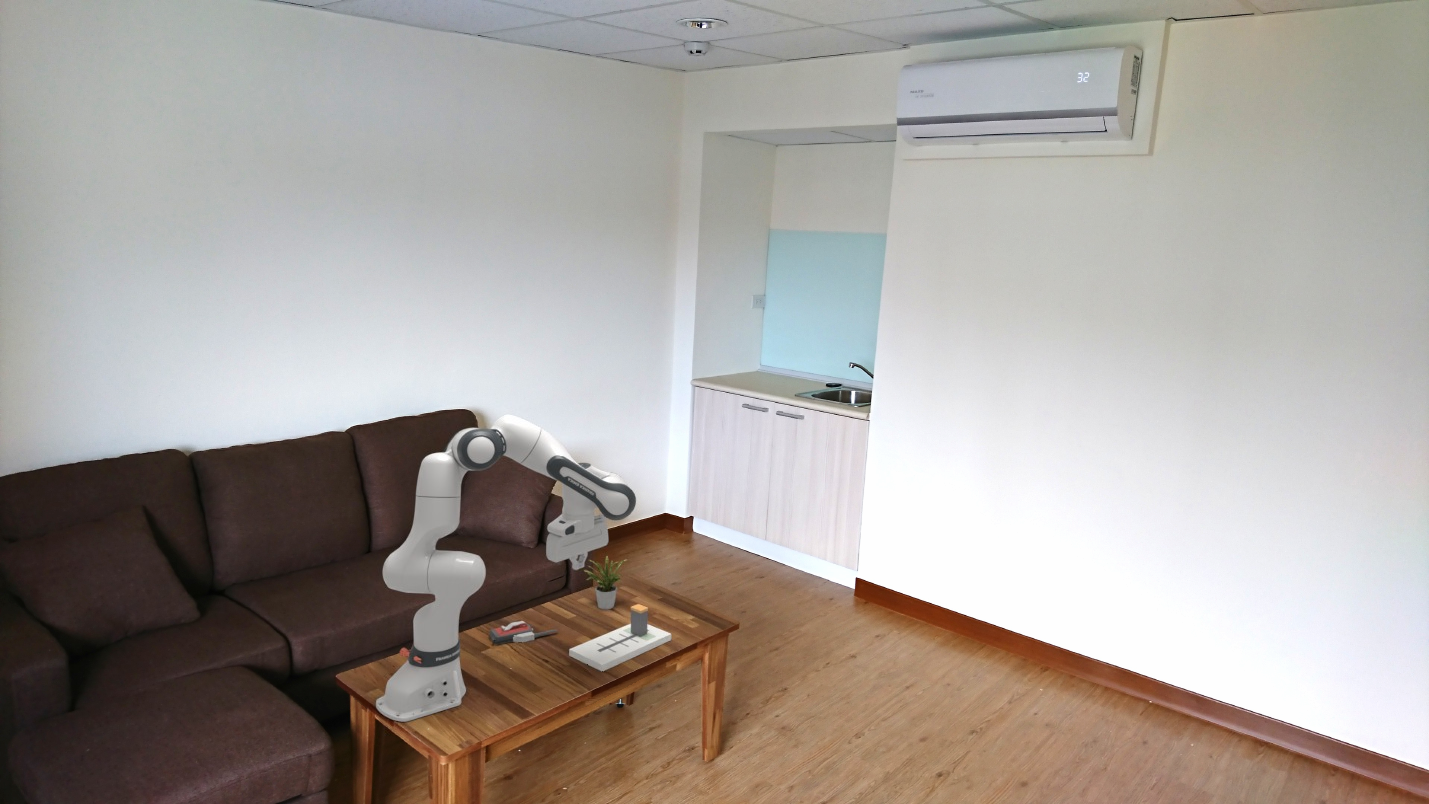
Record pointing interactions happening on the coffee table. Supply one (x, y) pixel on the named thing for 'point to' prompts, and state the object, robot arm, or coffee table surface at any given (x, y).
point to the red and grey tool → (515, 633)
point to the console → (618, 647)
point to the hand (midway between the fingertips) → (578, 568)
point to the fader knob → (639, 619)
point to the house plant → (605, 584)
